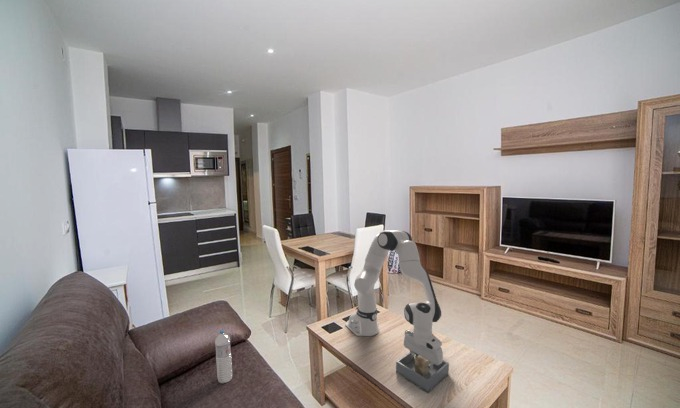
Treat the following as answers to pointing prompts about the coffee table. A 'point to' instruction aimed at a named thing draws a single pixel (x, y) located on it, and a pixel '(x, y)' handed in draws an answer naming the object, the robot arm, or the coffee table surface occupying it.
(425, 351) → the robot arm
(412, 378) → the bin
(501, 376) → the coffee table surface
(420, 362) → the beech block
